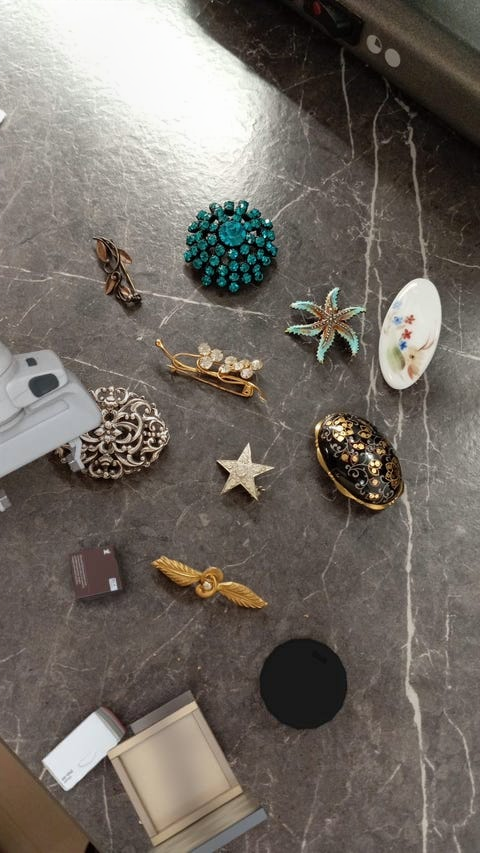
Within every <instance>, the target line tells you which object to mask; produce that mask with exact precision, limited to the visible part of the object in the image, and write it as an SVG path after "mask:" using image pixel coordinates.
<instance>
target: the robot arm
mask: <svg viewBox="0 0 480 853" xmlns="http://www.w3.org/2000/svg"><path fill="white" fill-rule="evenodd" d="M99 408H100V407H99V406H98V405H97V403H96V402H95V400H94V398H93V397H92V395H91V393H90V392H89V390H88V389H87V388H86V386H85V385H84V383H83V382H82V381H81V380H80V378H78V376H77V374H75V373H74V372H73V371H72V370H70V369H68V368H66V366H65V364H64V362H63V361H62V360H61V358H60V356H59V355H58V354H57V353H55V352H54V351H53V350H52V349H41V350H36V351H31V352H24V353H19V354H13V353H12V351H11V350H10V348H8V346H6V345H5V344H4V343H3V342H2V341H1V340H0V479H1V478H3V477H5V476H6V475H9V474H10V473H12V472H14V471H16V470H18V469H20V468H23V467H24V466H25V465H28V464H30V463H32V462H33V461H35V460H38V459H39V458H41V457H43V456H45V455H47V454H49V453H51V452H53V451H54V450H56V449H58V448H61V447H62V446H64V445H66V444H69V447H70V448H71V451H70V453H69V454H67V455H66V456H65V459H66V461H67V463H68V465H69V467H70V468H71V471H72V473H74V474H76V473H79V472H80V471H81V470H83V469H85V468H86V467H85V465H84V462H83V461H82V458H81V457H82V448H83V441H82V440H81V436H83V435H85V434H87V433H88V432H91V431H92V430H95V429H97V428H99V427H100V425H101V424H102V420H103V413H102V412H101V410H100V409H99ZM11 507H14V506H13V502H12V500H11V498H10V496H9V495H8V493H7V491H6V490H5V489H4V488H3V489H1V490H0V512H1V513H2V512H5V511H6V510H8V509H10V508H11Z"/></svg>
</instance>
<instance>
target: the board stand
mask: <svg viewBox="0 0 480 853" xmlns="http://www.w3.org/2000/svg"><path fill="white" fill-rule="evenodd" d="M192 700H195V701H196V703H197V705H198V707H199V709H200V710H201V712H202V714H203V716H204V718H205V720H206V722H207V724H208V726H209V727H210V729H211V731H212V733H213V735H214V737H215V739H216V741H217V742H218V744H219V746H220V748H221V750H222V752H223V754H224V756H225V757H226V759H227V760H228V757H227V756H226V754H225V751H224V750H223V747H222V746H221V745H220V742H219V741H218V738H217V737H216V734H215V733H214V731H213V730H212V727H211V726H210V723H209V722H208V720H207V718H206V716H205V714H204V712H203V710H202V708H201V707H200V705H199V703H198V701H197V698H195V695H194V693H193V692H192V690H191V689H190V688H189V689H187V690H186V691H184V692H182V693H180V694H178V695H177V696H175V697H174V698H172V699H170V700H169V701H167V702H165V703H163V704H162V705H160V706H158V707H157V708H155V709H153V710H151V711H150V712H148V713H146V714H144V715H143V716H141V717H139V718H138V719H136V720H134V721H133V722H130V723H129V727H130V729H131V731H132V733H133V735H135V734H137V733H138V732H140V731H142V730H143V729H145V728H147V727H148V726H150V725H152V724H153V723H155V722H157V721H159V720H160V719H162V718H164V717H165V716H167V715H169V714H170V713H172V712H174V711H176V710H177V709H179V708H181V707H182V706H184V705H186V704H187V703H189V702H191V701H192ZM268 819H270V817H269V815H268V813H267V811H266V809H265V807H264V806H263V805H261V806H260V805H259V803H258V801H257V798H256V797H255V794H254V792H253V791H252V789H251V787H247V788H245V789H243V793H241V794H239V795H238V796H236V797H235V798H233V799H231V800H230V801H228V802H226V803H225V804H223V805H222V806H220V807H218V808H217V809H215V810H213V811H212V812H210V813H209V814H207V815H205V816H204V817H202V818H201V819H199V820H197V821H196V822H194V823H192V824H191V825H189V826H188V827H186V828H184V829H183V830H181V831H179V832H178V833H176V834H175V835H173V836H171V837H170V838H168V839H166V840H165V841H163V842H162V843H160V844H158V845H157V846H155V847H154V846H153V845H152V847H150V848H149V849H148V852H147V853H215V852H217V851H219V850H220V849H222V848H224V847H225V846H226V845H228V844H230V843H231V842H233V841H235V840H236V839H238V838H239V837H241V836H242V835H244V834H246V833H248V832H249V831H251V830H252V829H254V828H255V827H257V826H259V825H260V824H262V823H263V822H265V821H267V820H268Z"/></svg>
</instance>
